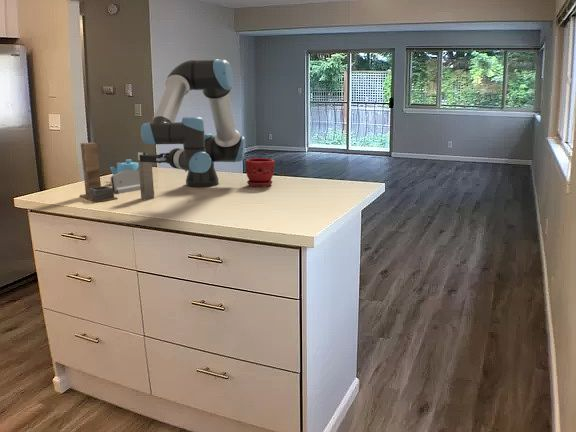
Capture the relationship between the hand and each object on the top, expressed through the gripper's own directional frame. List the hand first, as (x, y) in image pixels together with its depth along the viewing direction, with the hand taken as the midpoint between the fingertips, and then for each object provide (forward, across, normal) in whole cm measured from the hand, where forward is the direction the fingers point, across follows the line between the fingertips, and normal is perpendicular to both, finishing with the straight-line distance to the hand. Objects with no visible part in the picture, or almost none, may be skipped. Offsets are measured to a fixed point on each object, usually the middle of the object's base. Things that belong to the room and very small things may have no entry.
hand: (154, 154), depth 226 cm
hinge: (+33, +3, -19) cm, 38 cm away
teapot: (+53, +12, -19) cm, 58 cm away
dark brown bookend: (+26, -14, -19) cm, 35 cm away
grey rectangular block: (+10, +1, -19) cm, 22 cm away
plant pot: (0, +52, -19) cm, 55 cm away
